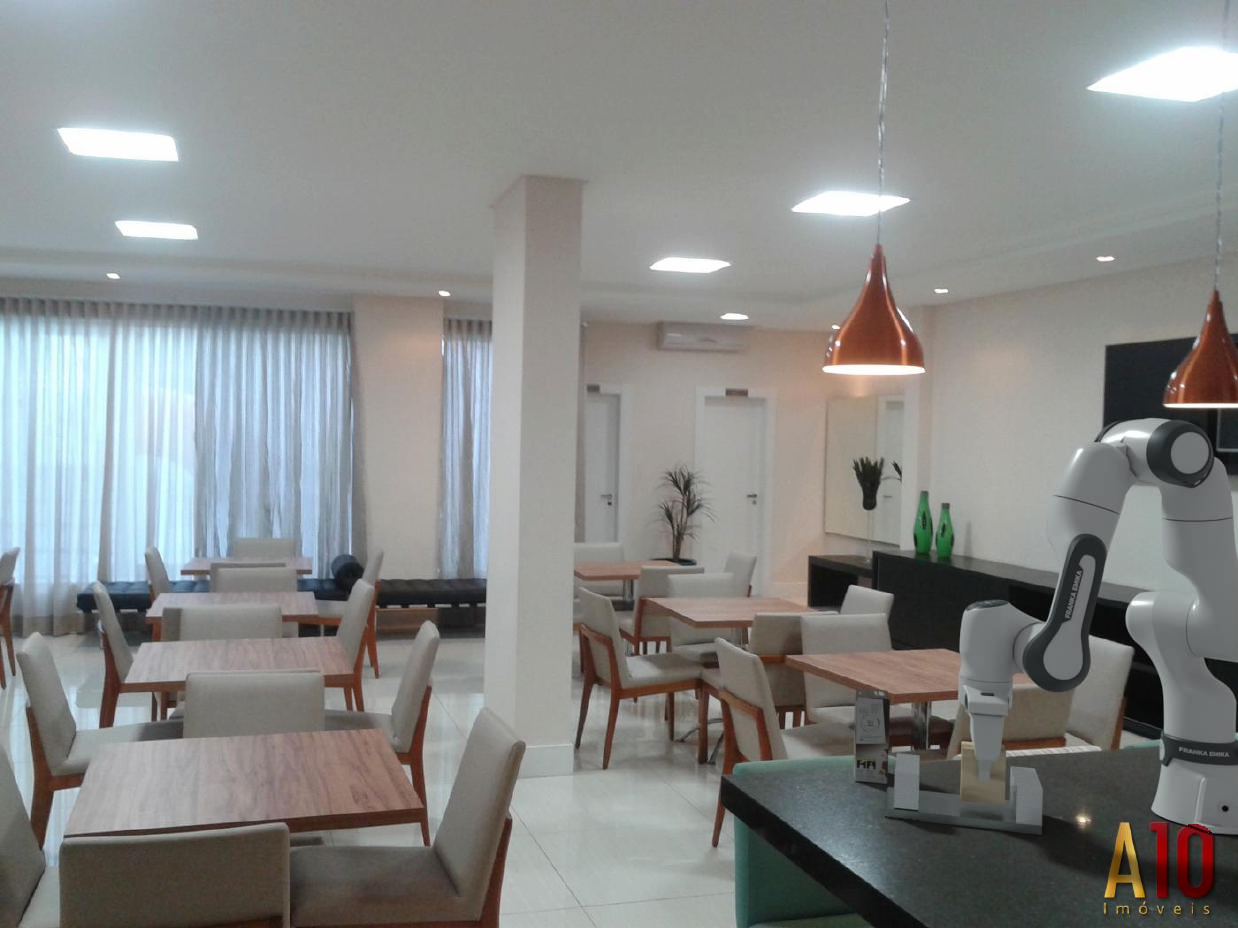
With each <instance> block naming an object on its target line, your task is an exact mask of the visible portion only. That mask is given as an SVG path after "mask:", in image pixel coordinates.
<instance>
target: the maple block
mask: <svg viewBox="0 0 1238 928" xmlns="http://www.w3.org/2000/svg"><path fill="white" fill-rule="evenodd" d="M960 744H961V745H960V746H961V748H960V749H961V751H960V779H959V781H960V782H959V783H960V784H959V785H960V786H959V787H960V788H959V795H961V801H966V802H975V803H984V804H994V805H1003V806H1005V800H1006V778H1007V776H1006V773H1007V772H1006V771H1007V770H1006V769H1007V750H1006V748H1005V745H1004V744H1001V750H1000V756H999V759H998V761H997V762H992V764H991V769H990V780H989V781H980V780H979V777H978V768H979V766H978V760H977V759H976V758H975V752H974V748H973V743H972V741H961V743H960Z"/></svg>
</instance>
